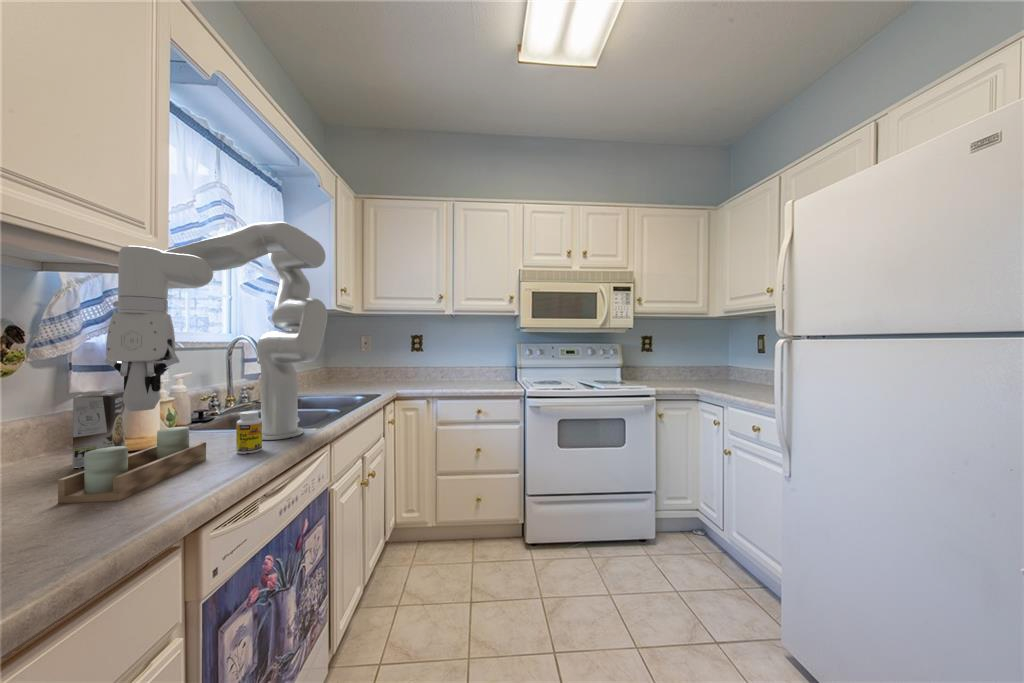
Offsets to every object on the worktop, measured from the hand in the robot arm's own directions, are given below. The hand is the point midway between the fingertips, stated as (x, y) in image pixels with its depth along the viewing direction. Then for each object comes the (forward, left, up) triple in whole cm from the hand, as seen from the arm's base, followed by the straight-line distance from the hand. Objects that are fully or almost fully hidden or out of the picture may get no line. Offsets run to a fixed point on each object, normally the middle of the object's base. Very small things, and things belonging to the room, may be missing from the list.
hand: (142, 394), depth 80 cm
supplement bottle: (-18, +12, -18) cm, 28 cm away
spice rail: (0, 0, -18) cm, 18 cm away
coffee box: (-13, -18, -18) cm, 29 cm away
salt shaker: (0, 0, -3) cm, 3 cm away
